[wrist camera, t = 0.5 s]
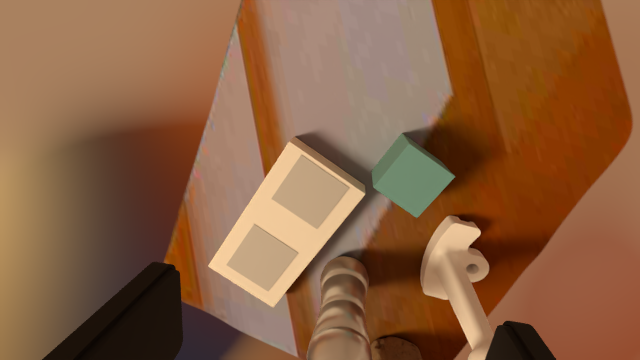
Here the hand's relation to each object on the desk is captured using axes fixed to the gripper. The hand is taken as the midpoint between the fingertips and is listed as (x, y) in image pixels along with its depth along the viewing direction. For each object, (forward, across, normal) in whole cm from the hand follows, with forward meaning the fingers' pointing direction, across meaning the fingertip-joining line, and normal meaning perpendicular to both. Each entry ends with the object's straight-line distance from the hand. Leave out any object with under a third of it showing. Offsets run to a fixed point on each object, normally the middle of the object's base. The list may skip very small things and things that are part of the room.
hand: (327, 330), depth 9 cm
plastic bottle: (+31, -2, +19) cm, 36 cm away
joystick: (+31, -16, +14) cm, 37 cm away
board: (+31, +7, +13) cm, 34 cm away
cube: (+31, -7, +2) cm, 32 cm away
